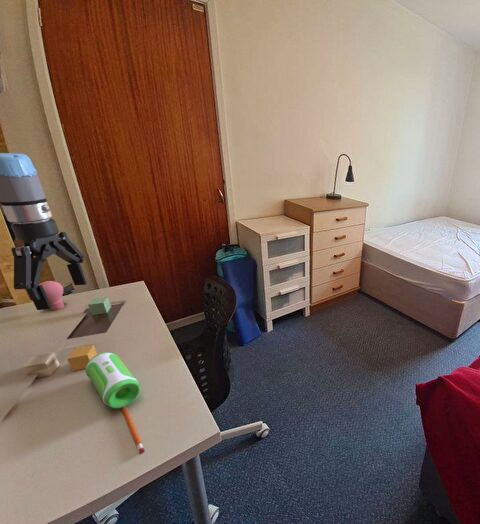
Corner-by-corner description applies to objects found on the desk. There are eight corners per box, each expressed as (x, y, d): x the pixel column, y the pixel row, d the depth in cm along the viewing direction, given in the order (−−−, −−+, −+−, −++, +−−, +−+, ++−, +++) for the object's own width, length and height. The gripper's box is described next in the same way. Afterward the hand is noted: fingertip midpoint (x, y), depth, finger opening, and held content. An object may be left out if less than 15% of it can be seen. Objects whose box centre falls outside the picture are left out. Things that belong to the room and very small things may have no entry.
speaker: (88, 381, 76) (79, 359, 73) (121, 366, 81) (113, 345, 78) (110, 417, 66) (100, 394, 64) (145, 397, 72) (137, 375, 69)
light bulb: (43, 310, 106) (30, 282, 101) (69, 303, 111) (58, 276, 106) (45, 317, 102) (32, 288, 97) (72, 309, 107) (60, 281, 102)
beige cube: (30, 379, 76) (23, 367, 74) (39, 368, 80) (32, 355, 78) (51, 375, 77) (45, 362, 76) (59, 364, 81) (54, 352, 80)
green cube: (91, 315, 102) (87, 304, 101) (96, 309, 106) (92, 298, 104) (107, 313, 104) (103, 302, 102) (111, 306, 108) (107, 296, 106)
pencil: (140, 454, 59) (139, 451, 59) (118, 402, 70) (117, 400, 70) (145, 451, 60) (144, 448, 59) (122, 400, 71) (121, 397, 71)
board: (61, 342, 90) (59, 340, 89) (87, 310, 107) (86, 308, 106) (107, 334, 94) (106, 332, 94) (125, 305, 111) (124, 303, 111)
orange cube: (72, 371, 79) (66, 358, 77) (79, 360, 83) (74, 348, 81) (92, 367, 81) (87, 354, 79) (98, 356, 85) (93, 344, 83)
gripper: (4, 235, 58) (44, 320, 66) (83, 209, 81) (106, 275, 89) (-41, 236, 57) (6, 323, 65) (53, 209, 79) (79, 276, 88)
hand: (64, 295), depth 77 cm, fingers open, 13 cm apart
